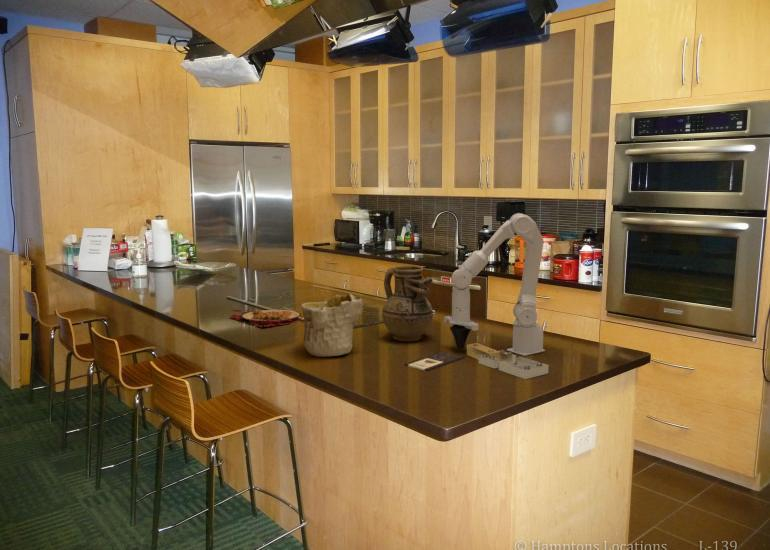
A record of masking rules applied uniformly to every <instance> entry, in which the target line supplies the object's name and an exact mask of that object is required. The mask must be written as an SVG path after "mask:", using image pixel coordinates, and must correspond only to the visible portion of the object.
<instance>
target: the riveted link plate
mask: <svg viewBox="0 0 770 550" xmlns="http://www.w3.org/2000/svg"><path fill="white" fill-rule="evenodd" d="M499 351H500V350H496V349H494V348H491V347H489V346H486V345H483V344H481V343H478V342H475V343H468V344H466V356H468V357H471V358H474V359H476V360H478V361H479V355H482V354H487V356H494V358H496V359H498V364H499V362H500V352H499Z"/></svg>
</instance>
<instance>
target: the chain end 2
mask: <svg viewBox="0 0 770 550" xmlns="http://www.w3.org/2000/svg"><path fill="white" fill-rule="evenodd" d="M498 371H501V372H503V373H506V374H509V375H512V376H514V377H517V378H521V379H523V380H529V379H533V378H536V377H540V376H543V375H544V376H545V375H547V374H549V364H548V363H547V364H546V363H544V362H543V363H542V362H540V361H536V360H533V359H530V358H526V357H525V356H518V357H516V363H515V364H512V363H509V362H506V361H500V362H499V363H498Z"/></svg>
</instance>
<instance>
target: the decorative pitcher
mask: <svg viewBox="0 0 770 550" xmlns="http://www.w3.org/2000/svg"><path fill="white" fill-rule="evenodd" d="M423 271H424V268H423V267H422V266H418V265H417V266H416V265H415V266H414V265H402V266H393V267H390V268H388V269H387V270H386V272H385V274H384V278H383V288H384V292H385V295H386V300H387V301H385V303H384V305H383V308H382V312H381V317H382V321H383V324H384V325H385V327H386V329H387V330H388V332H389V333H390V334H392V338H393V339H394V340H396V341H401V342H415V341H419V340H420V339H422V336H423V334H425V333H426V332H427V331H428V329H429V328H430V326H431V325H432V322H433V317H434V310H433V307H432V304H431V303H430V301H429V300H428V299H427V297H426V296H427V295H429V294H430V289H429V288H428V287H427V286H428V285H431V284H432V283H433V278H431V277H427V278H425V277H424V276H423ZM392 277H394V291H393V290H392V286H391V281H392Z"/></svg>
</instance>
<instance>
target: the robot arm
mask: <svg viewBox="0 0 770 550" xmlns="http://www.w3.org/2000/svg"><path fill="white" fill-rule="evenodd" d="M515 234H517V235H518V236H520V237H521V239H522V241H524V243H525V244H526V250H525V255H524V256H525V257H524V264H523V270H522V278H521V282H520V283H521V284H520V291H519V294H518V297H517V302H516V304H515V305H514V307H513V309H512V313H513V316H514V317H515V320H514V321H513V322H512V326H513V327H512V347H510V348H507V349H506V352H512V354H513V353H514V354H517V355H521V356H522V357H525V356H526V357H527V356H530V355H534V354H538V353H543V352H545V351H546V350H545V349H544V329H543V327H542V325H540V323H538V322H537V319H538V312H537V310H536V309H537V308H536V307H537V297H536V295H537V289H538V283H539V276H540V275H539V274H540V268H541V262H542V255H543V248H544V238H543V236H542V233H541V232H540V229H539V227H538V224H537V222H536V221H534V219H533V218H532V217H530V216H529V215H527V214H524V213H521V212H517V213H514V214H513V215H512V216H510V217H509V219H507V220H506V221H505V222H504V223H502V225H501V226H499V228H498V229H497V230H496V231H495V232H494V233H493V235H492V236H491V237H490V239H489V240H487V242H485V244H484V246H483V247H482V248H481V249H480V250H474V251H473V252H471V251H470V252H469V253H468V254H467V256H468V257H467V258H466V259H465V261H463V262H462V264H459V265H458V266H457V267H458V269H456V270H454V272H453V273H452V274H451V277H450V278H451V283H453V284H452V287H451V288H452V289H451V290H452V292H451V316H450V315H447V316H443V322H444V323H446V324H450V325H452V326H450V327H449V330H450V332H451V333H452V335H453V338H454V341H455V345H456V349H459V350H461V349H465V346H466V343H467V340H468V339H467V338H468V336H469V335H470V333H471V331H472V332H473V331H479V323H477V322H475V321H473V320H471V292H470V286H471V284H472V279H473V278H476V276H477V275H478V274H480V272H481V271H482V270H483V269H484V268H485V267H486V266H487V264H488V263H489V260H488V258H489V256H491V254H493V252H495V250H497V249H498V247H499V246H500V245H502V244H503V242H504V241H506V240H508V239H513V238H515V237H516V235H515Z"/></svg>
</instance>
